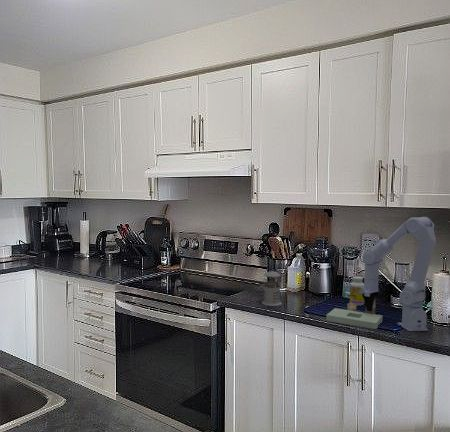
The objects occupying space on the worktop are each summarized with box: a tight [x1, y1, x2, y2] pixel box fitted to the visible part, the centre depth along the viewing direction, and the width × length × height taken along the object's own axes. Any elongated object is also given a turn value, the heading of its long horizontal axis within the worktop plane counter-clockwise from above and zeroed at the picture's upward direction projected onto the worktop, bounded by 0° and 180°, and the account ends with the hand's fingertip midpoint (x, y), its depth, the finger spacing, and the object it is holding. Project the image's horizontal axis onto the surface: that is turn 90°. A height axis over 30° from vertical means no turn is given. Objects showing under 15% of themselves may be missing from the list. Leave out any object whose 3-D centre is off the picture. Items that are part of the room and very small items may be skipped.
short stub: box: [346, 302, 358, 311], centre depth 190 cm, size 4×4×4 cm
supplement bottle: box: [349, 275, 365, 306], centre depth 205 cm, size 7×7×13 cm
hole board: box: [325, 307, 384, 330], centre depth 178 cm, size 20×12×2 cm, turn 59°
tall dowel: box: [364, 298, 377, 314], centre depth 185 cm, size 4×4×8 cm
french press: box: [261, 251, 282, 307], centre depth 206 cm, size 10×12×25 cm
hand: (370, 309), depth 186 cm, fingers closed on tall dowel, 4 cm apart
